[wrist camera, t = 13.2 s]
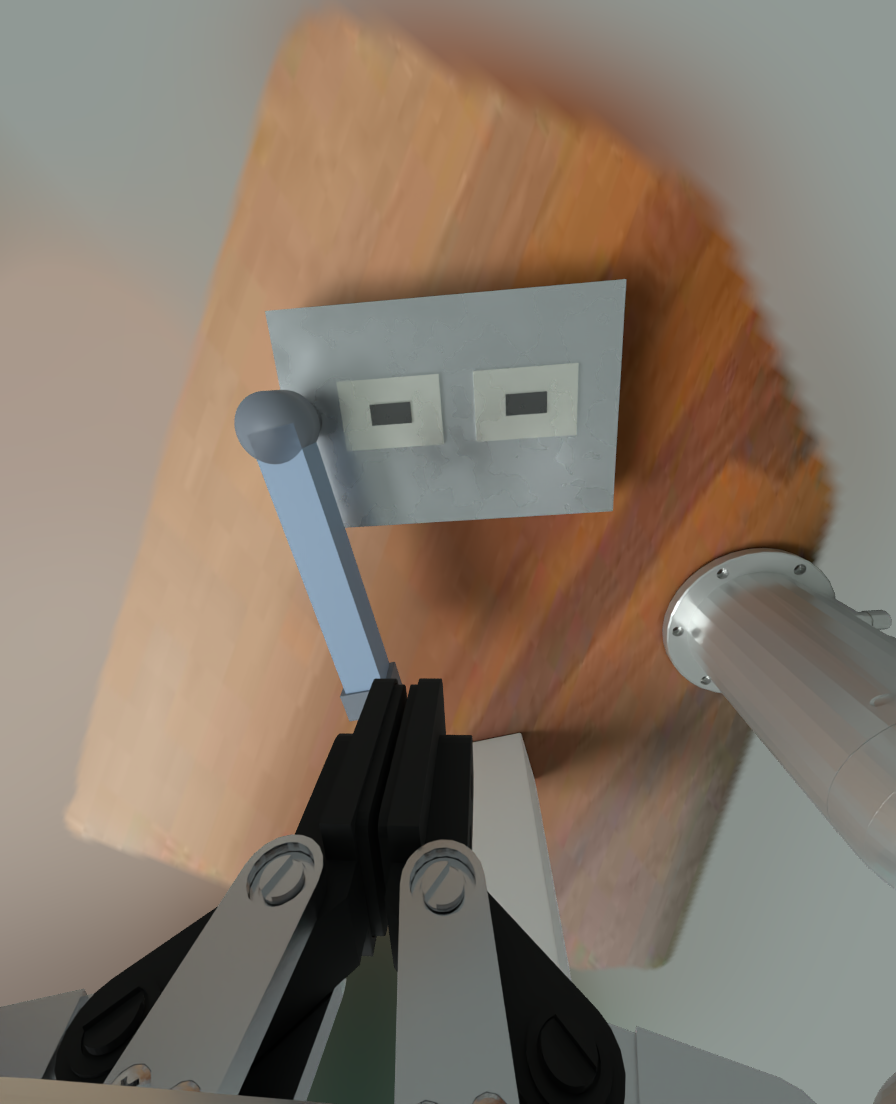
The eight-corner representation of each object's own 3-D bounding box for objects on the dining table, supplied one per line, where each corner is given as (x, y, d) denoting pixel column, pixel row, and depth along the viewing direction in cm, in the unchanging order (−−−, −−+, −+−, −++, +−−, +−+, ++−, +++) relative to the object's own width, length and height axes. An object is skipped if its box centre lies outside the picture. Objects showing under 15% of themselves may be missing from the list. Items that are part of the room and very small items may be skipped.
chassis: (604, 292, 28) (641, 269, 22) (595, 495, 33) (624, 521, 27) (287, 320, 29) (244, 305, 23) (322, 513, 34) (293, 541, 28)
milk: (474, 790, 44) (483, 1161, 23) (457, 743, 41) (450, 1104, 21) (536, 779, 43) (602, 1152, 22) (522, 730, 41) (581, 1092, 20)
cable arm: (246, 398, 25) (221, 400, 22) (308, 382, 24) (289, 383, 22) (356, 693, 32) (346, 721, 29) (405, 684, 31) (400, 712, 29)
